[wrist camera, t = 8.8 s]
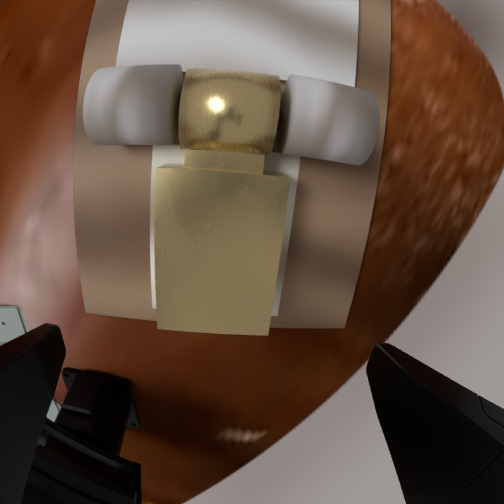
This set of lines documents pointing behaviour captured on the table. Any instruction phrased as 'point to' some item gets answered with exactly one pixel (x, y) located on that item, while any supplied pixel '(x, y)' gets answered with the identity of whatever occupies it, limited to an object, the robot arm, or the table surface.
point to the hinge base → (280, 159)
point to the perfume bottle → (221, 207)
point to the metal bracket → (14, 329)
